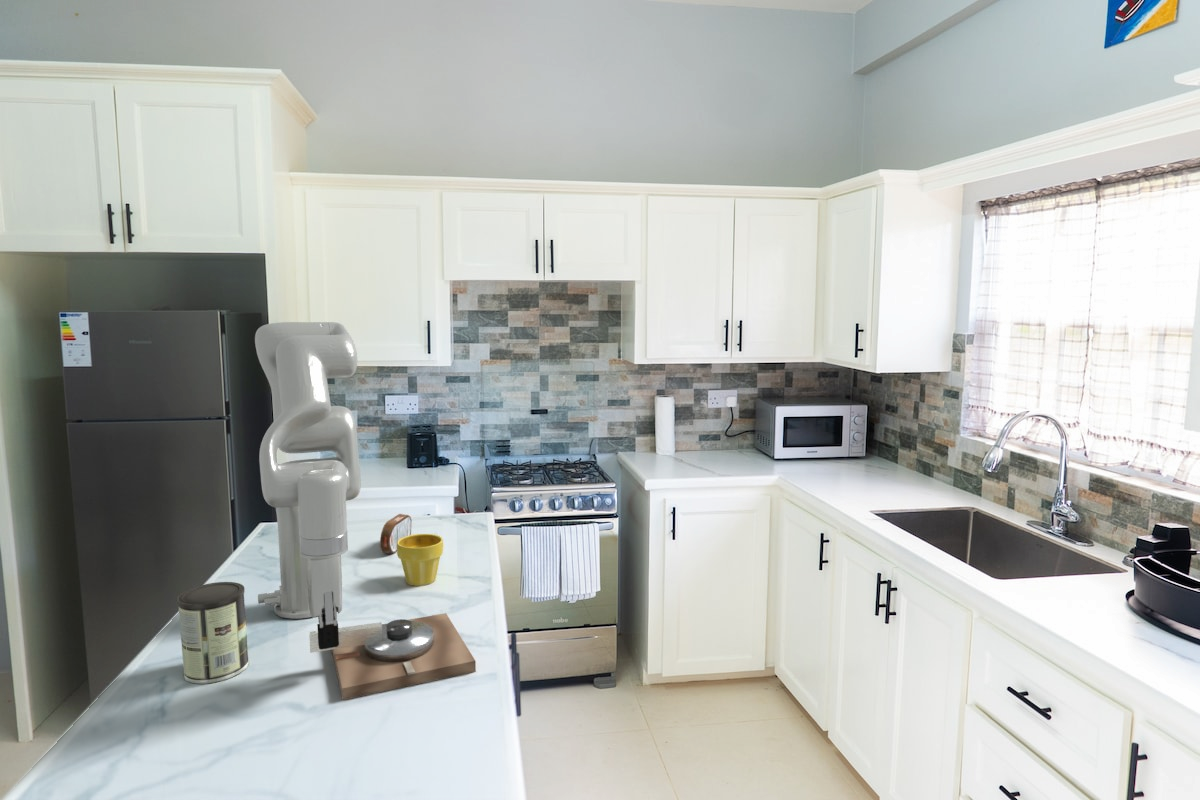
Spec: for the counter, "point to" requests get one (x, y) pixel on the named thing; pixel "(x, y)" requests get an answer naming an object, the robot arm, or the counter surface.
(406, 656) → the dial
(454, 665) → the dial board
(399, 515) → the tin
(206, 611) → the coffee can
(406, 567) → the plant pot
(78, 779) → the counter surface
